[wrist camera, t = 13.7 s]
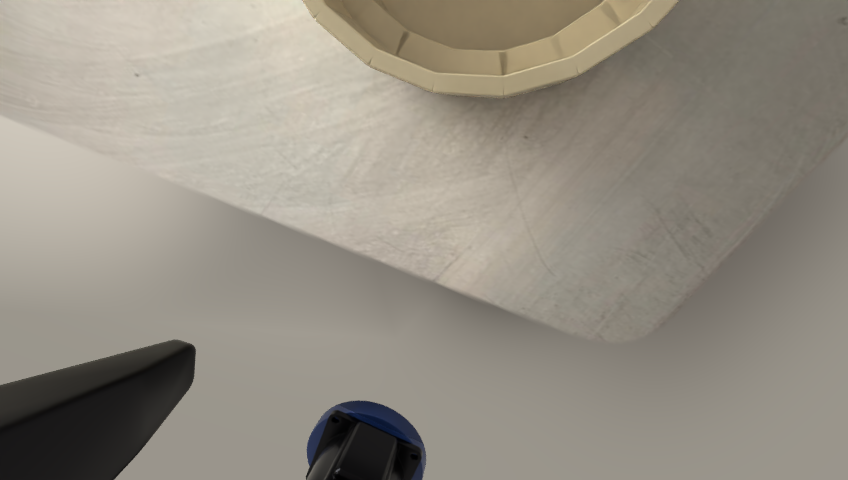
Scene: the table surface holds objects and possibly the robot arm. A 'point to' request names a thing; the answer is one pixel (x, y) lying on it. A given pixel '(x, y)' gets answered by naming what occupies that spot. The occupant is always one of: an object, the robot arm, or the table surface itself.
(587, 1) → the bowl
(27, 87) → the table surface
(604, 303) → the table surface
